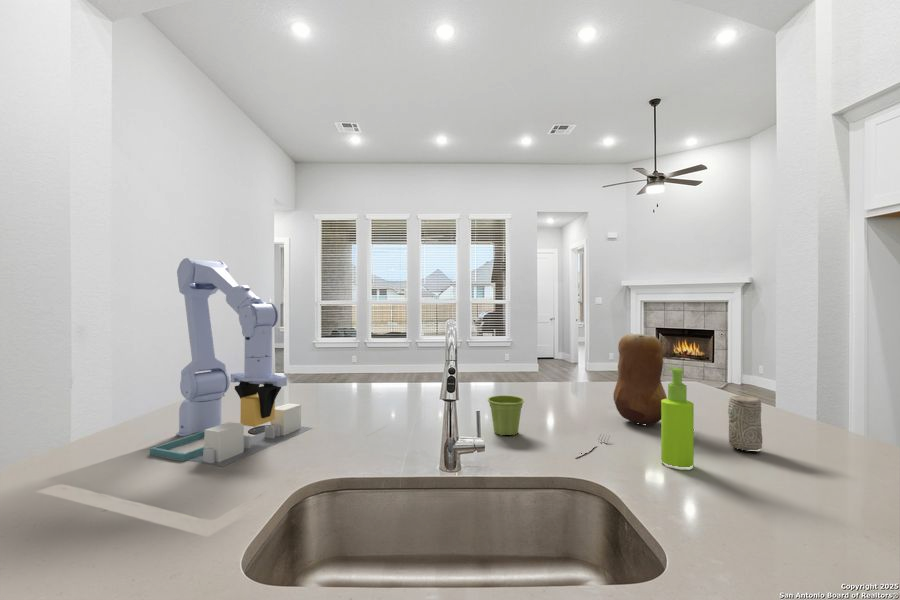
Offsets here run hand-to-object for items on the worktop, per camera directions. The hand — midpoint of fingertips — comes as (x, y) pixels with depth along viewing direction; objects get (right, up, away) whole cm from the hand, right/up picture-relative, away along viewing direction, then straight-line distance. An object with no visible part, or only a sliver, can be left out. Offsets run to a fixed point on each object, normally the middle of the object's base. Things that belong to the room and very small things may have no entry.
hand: (257, 416), depth 96 cm
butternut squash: (+97, -8, +22) cm, 99 cm away
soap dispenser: (+91, -8, -8) cm, 92 cm away
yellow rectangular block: (0, -1, 0) cm, 1 cm away
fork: (+76, -8, +1) cm, 76 cm away
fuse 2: (+3, -6, +8) cm, 11 cm away
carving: (+111, -8, +1) cm, 111 cm away
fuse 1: (-3, -6, -8) cm, 11 cm away
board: (0, -8, 0) cm, 8 cm away
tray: (-12, -7, -3) cm, 14 cm away
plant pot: (+58, -8, +13) cm, 60 cm away
